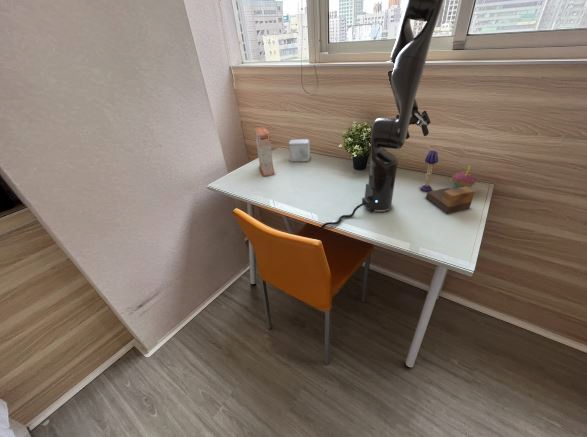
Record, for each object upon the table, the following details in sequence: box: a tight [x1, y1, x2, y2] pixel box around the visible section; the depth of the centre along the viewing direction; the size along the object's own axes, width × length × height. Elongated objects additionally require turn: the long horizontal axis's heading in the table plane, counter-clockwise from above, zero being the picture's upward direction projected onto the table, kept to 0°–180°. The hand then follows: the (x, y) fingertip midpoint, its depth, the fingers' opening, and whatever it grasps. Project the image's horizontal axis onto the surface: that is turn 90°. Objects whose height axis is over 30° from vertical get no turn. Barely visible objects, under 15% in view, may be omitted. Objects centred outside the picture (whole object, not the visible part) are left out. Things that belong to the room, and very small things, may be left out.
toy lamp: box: [420, 150, 439, 193], centre depth 109 cm, size 5×5×17 cm
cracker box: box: [253, 126, 275, 177], centre depth 137 cm, size 14×6×21 cm, turn 13°
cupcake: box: [451, 164, 477, 189], centre depth 108 cm, size 9×8×12 cm
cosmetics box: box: [288, 138, 311, 162], centre depth 148 cm, size 10×6×10 cm, turn 80°
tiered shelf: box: [425, 186, 476, 215], centre depth 102 cm, size 10×12×8 cm
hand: (417, 136), depth 112 cm, fingers open, 8 cm apart
